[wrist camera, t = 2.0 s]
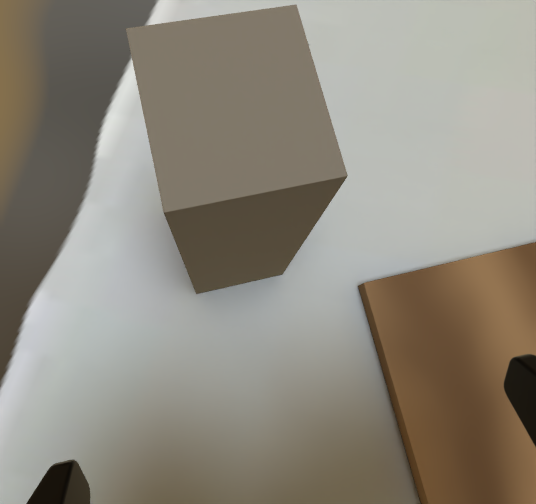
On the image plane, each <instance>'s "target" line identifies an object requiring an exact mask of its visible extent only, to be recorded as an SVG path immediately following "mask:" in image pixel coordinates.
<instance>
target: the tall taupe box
mask: <svg viewBox="0 0 536 504" xmlns="http://www.w3.org/2000/svg"><path fill="white" fill-rule="evenodd" d="M126 31H127V36H128V41H129V46H130V51H131V56H132V60H133V65H134V70H135V75H136V80H137V85H138V89H139V94H140V99H141V104H142V109H143V114H144V119H145V123H146V128H147V133H148V138H149V143H150V148H151V153H152V157H153V162H154V167H155V172H156V177H157V182H158V186H159V191H160V196H161V201H162V206H163V211H164V214H165V217H166V219H167V222H168V224H169V227H170V229H171V232H172V234H173V237H174V239H175V242H176V244H177V247H178V249H179V252H180V254H181V257H182V259H183V262H184V264H185V267H186V269H187V272H188V274H189V277H190V279H191V282H192V284H193V287H194V289H195V292H196V294H199V293H203V292H207V291H212V290H216V289H221V288H225V287H229V286H234V285H238V284H243V283H247V282H251V281H256V280H260V279H265V278H269V277H273V276H278V275H282V274H283V273H284V271H285V270H286V268H287V267H288V265H289V263H290V262H291V260H292V259H293V257H294V256H295V254H296V253H297V251H298V250H299V248H300V247H301V245H302V244H303V242H304V241H305V239H306V238H307V236H308V235H309V233H310V232H311V230H312V229H313V227H314V226H315V224H316V223H317V221H318V220H319V218H320V217H321V215H322V214H323V212H324V211H325V209H326V208H327V206H328V205H329V203H330V202H331V200H332V199H333V197H334V196H335V194H336V193H337V191H338V190H339V188H340V187H341V185H342V184H343V182H344V181H345V179H346V178H347V172H346V169H345V166H344V162H343V159H342V156H341V152H340V149H339V146H338V142H337V139H336V136H335V132H334V129H333V126H332V122H331V119H330V116H329V112H328V109H327V106H326V102H325V99H324V96H323V92H322V89H321V86H320V82H319V79H318V76H317V72H316V69H315V66H314V62H313V59H312V56H311V52H310V49H309V46H308V42H307V39H306V36H305V32H304V29H303V26H302V22H301V19H300V16H299V12H298V9H297V5H290V6H283V7H276V8H269V9H262V10H255V11H248V12H241V13H233V14H226V15H219V16H212V17H205V18H198V19H191V20H183V21H176V22H169V23H162V24H155V25H148V26H141V27H134V28H126Z"/></svg>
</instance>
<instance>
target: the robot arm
mask: <svg viewBox="0 0 536 504" xmlns="http://www.w3.org/2000/svg"><path fill="white" fill-rule="evenodd" d="M504 391H505V393H506V395H507V397H508V399H509V401H510V403H511V404H512V406H513V408H514V410H515V411H516V413H517V415H518V417H519V419H520V420H521V422H522V424H523V426H524V427H525V429H526V431H527V433H528V435H529V436H530V438H531V440H532V442H533V444H534V445H535V447H536V356H535V355H533V354H524V355H520V356H516V357H513V358H512V359H511V360H510V362H509V365H508V369H507V372H506V376H505V379H504ZM27 504H90V488H89V484H88V482H87V480H86V478H85V476H84V474H83V472H82V470H81V468H80V466H79V464H78V462H77V461H75V460H68V461H64V462H59V463H56V464H54V465H52V466H51V467H50V468H49V470H48V471H47V473H46V474H45V476H44V477H43V479H42V480H41V482H40V483H39V485H38V487H37V488H36V490H35V491H34V493H33V494H32V496H31V498H30V499H29V501H28V502H27Z"/></svg>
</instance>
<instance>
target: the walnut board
mask: <svg viewBox="0 0 536 504" xmlns="http://www.w3.org/2000/svg"><path fill="white" fill-rule="evenodd" d="M358 287H359V291H360V294H361V298H362V301H363V305H364V308H365V312H366V315H367V318H368V322H369V325H370V329H371V332H372V336H373V339H374V343H375V346H376V350H377V353H378V356H379V360H380V363H381V367H382V370H383V374H384V377H385V381H386V384H387V388H388V391H389V394H390V398H391V401H392V405H393V408H394V412H395V415H396V419H397V422H398V426H399V429H400V432H401V436H402V439H403V443H404V446H405V450H406V453H407V457H408V460H409V464H410V467H411V470H412V474H413V477H414V481H415V484H416V488H417V491H418V495H419V498H420V502H421V504H536V447H535V445H534V444H533V442H532V440H531V438H530V436H529V435H528V433H527V431H526V429H525V427H524V426H523V424H522V422H521V420H520V419H519V417H518V415H517V413H516V411H515V410H514V408H513V406H512V404H511V403H510V401H509V399H508V397H507V395H506V393H505V391H504V379H505V376H506V372H507V369H508V365H509V362H510V360H511V359H512V358H513V357H516V356H520V355H524V354H533V355H535V356H536V242H535V243H531V244H526V245H522V246H518V247H514V248H510V249H505V250H501V251H497V252H493V253H488V254H484V255H480V256H476V257H472V258H467V259H463V260H459V261H455V262H450V263H446V264H442V265H438V266H434V267H429V268H425V269H421V270H417V271H412V272H408V273H404V274H400V275H395V276H391V277H387V278H383V279H379V280H374V281H370V282H366V283H363V284H361V285H359V286H358Z"/></svg>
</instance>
